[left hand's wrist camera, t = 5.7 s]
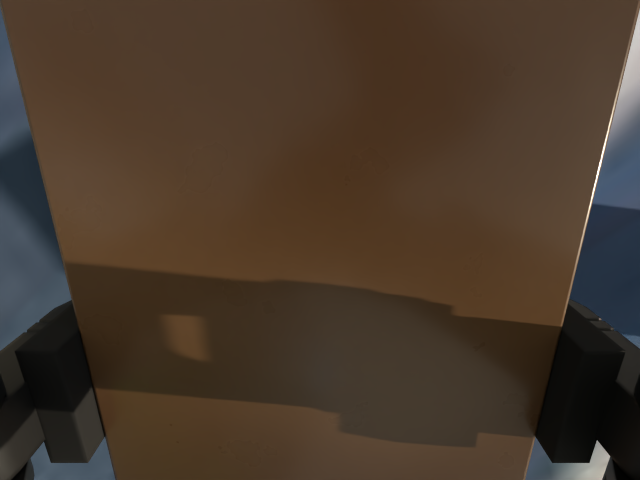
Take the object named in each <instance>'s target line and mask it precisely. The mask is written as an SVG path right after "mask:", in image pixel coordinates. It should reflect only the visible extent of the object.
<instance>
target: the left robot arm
mask: <svg viewBox="0 0 640 480" xmlns="http://www.w3.org/2000/svg"><path fill="white" fill-rule="evenodd" d="M104 437H105V434H104V430H103V426H102V422H101V417H100V413H99V409H98V405H97V401H96V397H95V393H94V389H93V385H92V380H91V376H90V372H89V368H88V364H87V360H86V356H85V352H84V348H83V344H82V339H81V335H80V331H79V327H78V323H77V319H76V315H75V311H74V307H73V303H72V300H71V301H69V302H67V303H65V304H63V305H61V306H58V307H56V308H54V309H53V310H52V311H50V312H49V313H48V314H47V315H45V316H44V317H43V318H42V319H40V320H39V323H35V324H34V325H33V326H31V327H30V328H29V329H28V330H27V332H24V333H23V334H21V335H20V336H19V337H18V338H16V339H15V340H14V341H12V342H11V343H10V344H9V345H7V346H6V347H5V348H4V349H2V350H1V351H0V480H34V469H33V465H32V462H31V459H30V458H31V457H32V455H33V454H34V453H35V452H36V450H37V449H38V448H39V447H40V445H41V444H42V443H43V442H44V443H45V446H46V449H47V452H48V455H49V458H50V461H51V463H88V462H89V460H90V459H91V457H92V456H93V454H94V453H95V451H96V449H97V448H98V446H99V445H100V443H101V442H102V440H103V438H104ZM536 438H537V439H538V441H539V443H540V444H541V446H542V447H543V449H544V450H545V452H546V454H547V455H548V457H549V458H550V460H551V461H552V463H589V462H590V459H591V456H592V453H593V450H594V447H595V444H596V441H597V440H598V442H599V443H600V444H601V445H602V446H603V448H604V449H605V450H606V451H607V453H608V454H609V455H610V459H609V462H608V465H607V468H606V471H605V473H604V476H603V479H602V480H640V349H639V348H638V347H637V346H635V345H634V344H633V343H632V342H630V341H629V340H628V339H627V338H625V337H624V336H623V335H621V334H620V333H619V332H618V331H614V328H612V327H611V326H610V325H609V324H607V323H606V322H605V321H601V318H600V317H598V316H597V315H596V314H595V313H593V312H592V311H591V310H590V309H588V308H587V307H585V306H583V305H581V304H579V303H577V302H575V301H573V300H571V299H569V301H568V305H567V309H566V313H565V317H564V321H563V325H562V329H561V333H560V337H559V342H558V346H557V350H556V354H555V358H554V362H553V366H552V370H551V374H550V379H549V383H548V387H547V391H546V395H545V399H544V403H543V407H542V411H541V416H540V420H539V424H538V428H537V432H536Z"/></svg>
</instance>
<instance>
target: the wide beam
mask: <svg viewBox="0 0 640 480" xmlns="http://www.w3.org/2000/svg"><path fill="white" fill-rule="evenodd" d="M0 7H1V11H2V15H3V19H4V24H5V28H6V32H7V36H8V40H9V44H10V48H11V52H12V56H13V60H14V65H15V69H16V73H17V77H18V81H19V85H20V89H21V93H22V97H23V101H24V106H25V110H26V114H27V118H28V122H29V126H30V130H31V134H32V138H33V143H34V147H35V151H36V155H37V159H38V163H39V167H40V171H41V175H42V179H43V184H44V188H45V192H46V196H47V200H48V204H49V208H50V212H51V216H52V220H53V225H54V229H55V233H56V237H57V241H58V245H59V249H60V253H61V257H62V261H63V266H64V270H65V274H66V278H67V282H68V286H69V290H70V294H71V298H72V303H73V307H74V311H75V315H76V319H77V323H78V327H79V331H80V335H81V339H82V344H83V348H84V352H85V356H86V360H87V364H88V368H89V372H90V376H91V380H92V385H93V389H94V393H95V397H96V401H97V405H98V409H99V413H100V417H101V422H102V426H103V430H104V434H105V438H106V442H107V446H108V450H109V454H110V458H111V463H112V467H113V471H114V475H115V479H116V480H525V477H526V473H527V469H528V465H529V461H530V457H531V452H532V448H533V444H534V440H535V436H536V432H537V428H538V424H539V420H540V416H541V411H542V407H543V403H544V399H545V395H546V391H547V387H548V383H549V379H550V374H551V370H552V366H553V362H554V358H555V354H556V350H557V346H558V342H559V337H560V333H561V329H562V325H563V321H564V317H565V313H566V309H567V305H568V301H569V296H570V292H571V288H572V284H573V280H574V276H575V272H576V268H577V264H578V259H579V255H580V251H581V247H582V243H583V239H584V235H585V231H586V227H587V223H588V218H589V214H590V210H591V206H592V202H593V198H594V194H595V190H596V186H597V181H598V177H599V173H600V169H601V165H602V161H603V157H604V153H605V149H606V145H607V140H608V136H609V132H610V128H611V124H612V120H613V116H614V112H615V108H616V103H617V99H618V95H619V91H620V87H621V83H622V79H623V75H624V71H625V66H626V62H627V58H628V54H629V50H630V46H631V42H632V38H633V34H634V30H635V25H636V21H637V17H638V13H639V9H640V0H0Z"/></svg>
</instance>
